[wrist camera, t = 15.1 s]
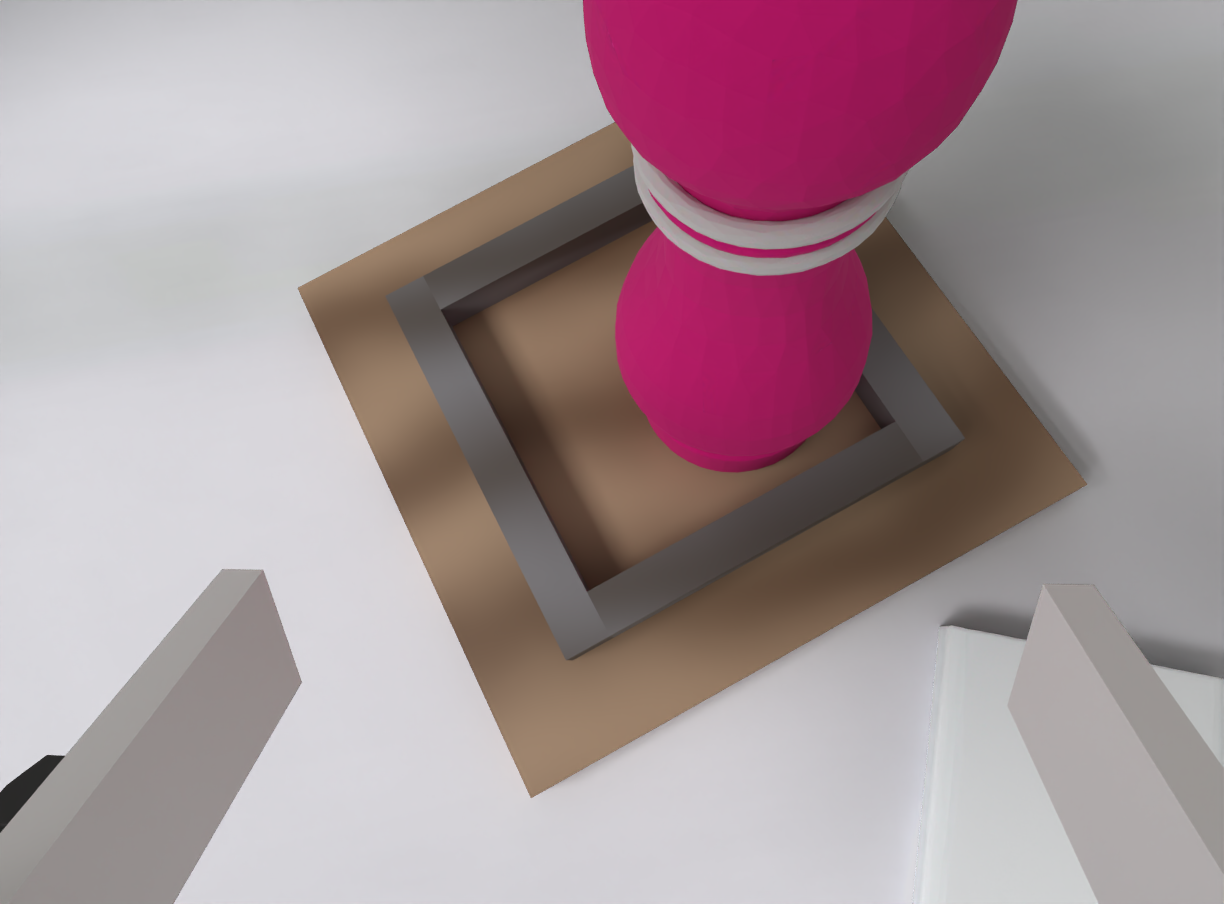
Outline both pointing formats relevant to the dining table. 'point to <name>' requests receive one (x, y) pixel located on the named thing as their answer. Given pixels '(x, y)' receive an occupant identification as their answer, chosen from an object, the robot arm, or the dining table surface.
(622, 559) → the pocket board
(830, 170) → the pepper mill
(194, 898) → the dining table surface
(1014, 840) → the external hard drive
